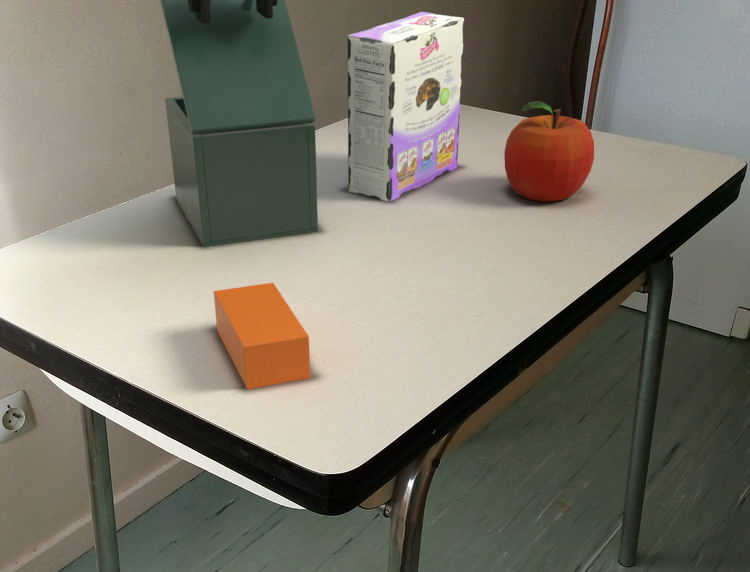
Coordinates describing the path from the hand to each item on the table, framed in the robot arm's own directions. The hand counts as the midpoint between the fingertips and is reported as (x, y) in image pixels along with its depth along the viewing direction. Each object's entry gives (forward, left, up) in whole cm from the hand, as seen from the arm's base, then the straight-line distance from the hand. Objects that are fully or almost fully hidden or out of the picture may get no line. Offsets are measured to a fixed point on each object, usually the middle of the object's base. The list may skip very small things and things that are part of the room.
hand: (234, 15), depth 91 cm
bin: (0, +1, -20) cm, 20 cm away
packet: (-6, -28, -20) cm, 35 cm away
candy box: (+19, +6, -20) cm, 28 cm away
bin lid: (0, 0, -4) cm, 4 cm away
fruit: (+32, -3, -20) cm, 38 cm away
